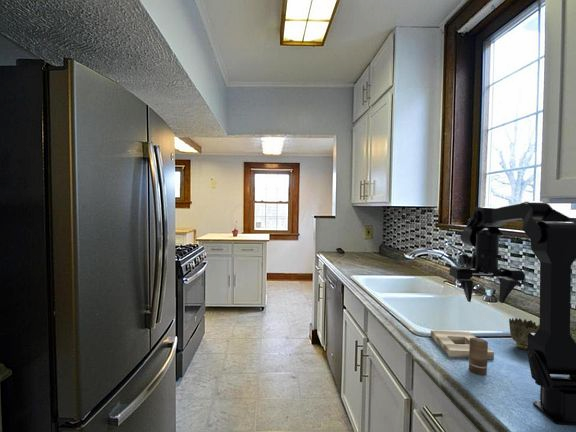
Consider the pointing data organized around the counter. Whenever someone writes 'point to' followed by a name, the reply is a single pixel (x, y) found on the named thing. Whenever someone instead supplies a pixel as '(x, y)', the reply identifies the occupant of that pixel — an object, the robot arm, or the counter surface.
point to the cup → (522, 331)
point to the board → (450, 337)
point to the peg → (478, 356)
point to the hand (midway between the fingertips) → (485, 302)
